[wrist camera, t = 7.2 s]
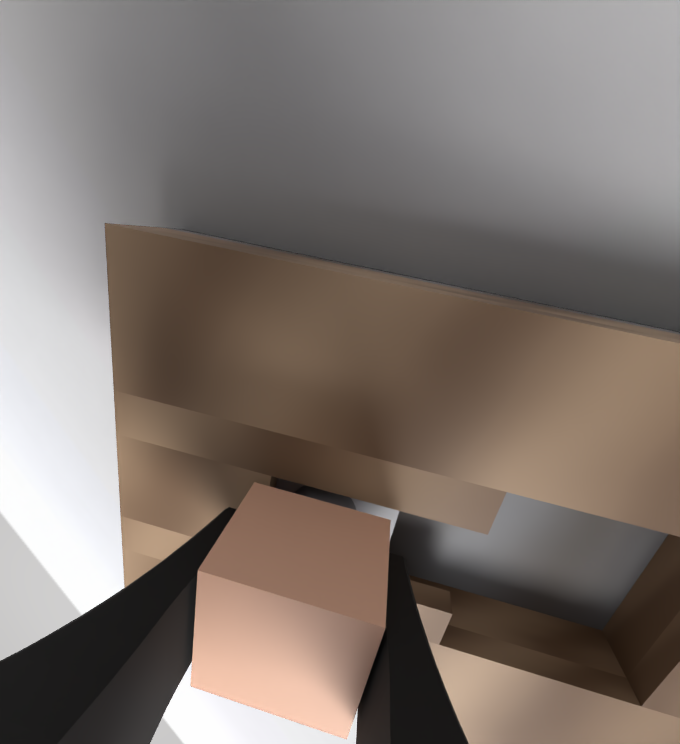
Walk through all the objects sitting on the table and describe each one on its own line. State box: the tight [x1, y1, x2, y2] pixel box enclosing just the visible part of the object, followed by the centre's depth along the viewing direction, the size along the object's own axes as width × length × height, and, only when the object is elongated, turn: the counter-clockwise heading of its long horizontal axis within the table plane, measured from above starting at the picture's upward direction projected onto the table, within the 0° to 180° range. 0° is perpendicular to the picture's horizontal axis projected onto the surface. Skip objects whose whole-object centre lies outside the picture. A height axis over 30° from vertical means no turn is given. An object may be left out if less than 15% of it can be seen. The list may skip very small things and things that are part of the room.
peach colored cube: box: [191, 478, 399, 739], centre depth 11 cm, size 5×5×6 cm
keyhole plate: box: [105, 223, 680, 744], centre depth 12 cm, size 20×16×3 cm
